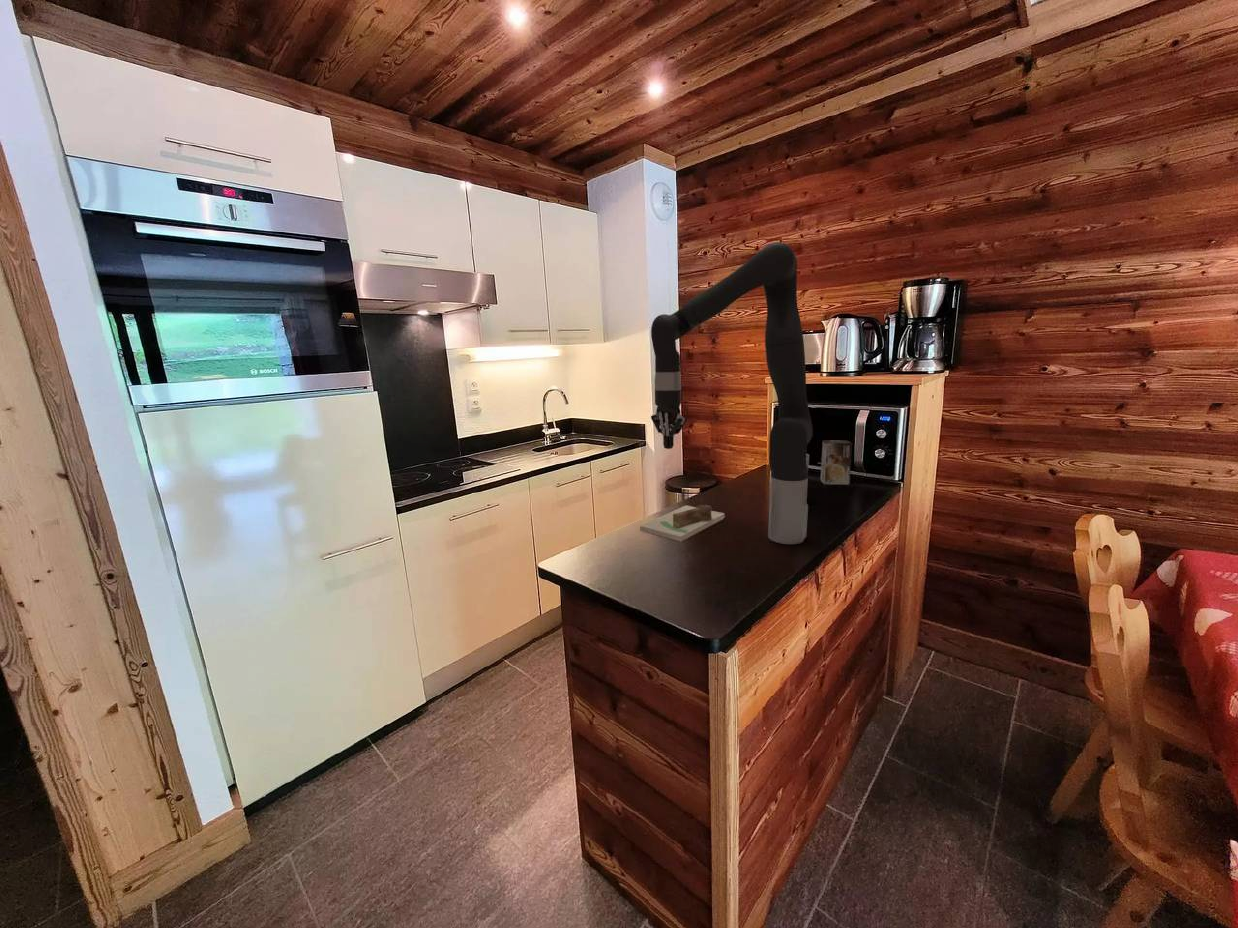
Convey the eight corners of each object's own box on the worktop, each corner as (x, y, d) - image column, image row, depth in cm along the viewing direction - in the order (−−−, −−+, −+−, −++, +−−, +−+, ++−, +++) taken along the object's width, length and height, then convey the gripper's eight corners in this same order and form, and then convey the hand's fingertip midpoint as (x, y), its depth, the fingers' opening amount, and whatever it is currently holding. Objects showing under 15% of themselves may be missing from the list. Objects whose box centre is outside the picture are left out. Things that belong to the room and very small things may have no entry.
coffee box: (844, 480, 186) (847, 439, 182) (849, 485, 180) (853, 442, 176) (819, 480, 187) (822, 439, 184) (823, 484, 181) (826, 442, 178)
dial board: (685, 509, 156) (686, 505, 156) (724, 518, 147) (724, 513, 147) (640, 530, 139) (640, 525, 138) (681, 541, 129) (681, 536, 129)
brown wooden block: (703, 514, 145) (703, 503, 145) (714, 518, 142) (714, 506, 141) (670, 524, 138) (670, 513, 137) (680, 528, 134) (680, 516, 133)
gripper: (642, 388, 139) (643, 447, 142) (674, 389, 128) (675, 453, 132) (661, 387, 143) (662, 444, 147) (694, 388, 133) (694, 449, 137)
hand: (668, 448), depth 139 cm, fingers closed
